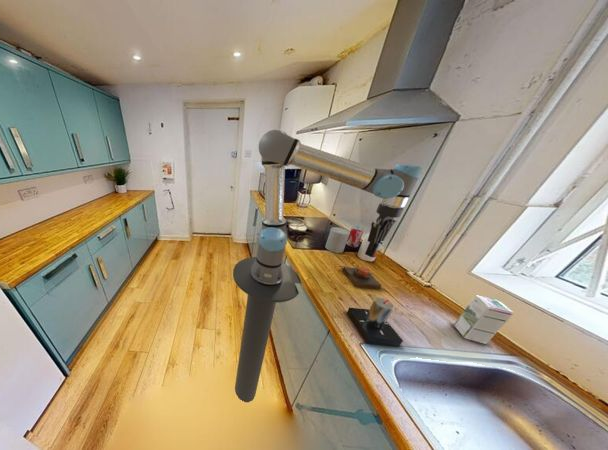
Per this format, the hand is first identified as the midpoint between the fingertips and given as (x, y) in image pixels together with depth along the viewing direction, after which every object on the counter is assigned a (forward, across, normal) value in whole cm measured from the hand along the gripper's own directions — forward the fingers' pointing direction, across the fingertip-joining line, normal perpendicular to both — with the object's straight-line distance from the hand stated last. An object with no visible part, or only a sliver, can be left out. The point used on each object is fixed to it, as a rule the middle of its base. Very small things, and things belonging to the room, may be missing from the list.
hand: (368, 255), depth 88 cm
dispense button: (+10, -1, 0) cm, 10 cm away
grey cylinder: (+14, -16, -23) cm, 31 cm away
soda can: (+14, -30, -22) cm, 40 cm away
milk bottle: (+14, -23, -10) cm, 28 cm away
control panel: (+14, +24, +18) cm, 33 cm away
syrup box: (+13, -6, +33) cm, 36 cm away
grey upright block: (+10, +24, +18) cm, 32 cm away
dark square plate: (+14, -1, 0) cm, 14 cm away
